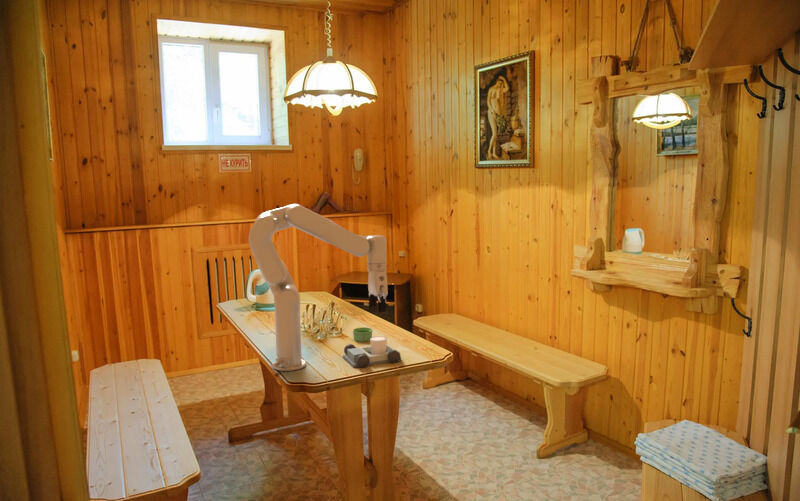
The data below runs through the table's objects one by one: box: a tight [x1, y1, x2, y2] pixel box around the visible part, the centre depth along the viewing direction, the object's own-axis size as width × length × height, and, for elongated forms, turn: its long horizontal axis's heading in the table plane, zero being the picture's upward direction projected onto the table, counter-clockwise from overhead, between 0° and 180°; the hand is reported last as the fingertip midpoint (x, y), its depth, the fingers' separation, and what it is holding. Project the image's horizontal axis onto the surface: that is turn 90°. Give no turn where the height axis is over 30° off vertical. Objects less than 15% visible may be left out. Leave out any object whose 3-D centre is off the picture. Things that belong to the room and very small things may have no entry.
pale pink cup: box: [369, 336, 388, 355], centre depth 223 cm, size 7×7×7 cm
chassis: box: [342, 343, 402, 369], centre depth 222 cm, size 20×17×5 cm
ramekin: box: [352, 326, 373, 343], centre depth 250 cm, size 9×9×4 cm
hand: (377, 309), depth 221 cm, fingers open, 9 cm apart
